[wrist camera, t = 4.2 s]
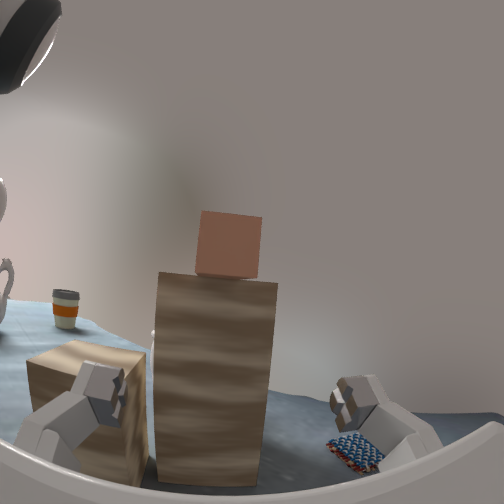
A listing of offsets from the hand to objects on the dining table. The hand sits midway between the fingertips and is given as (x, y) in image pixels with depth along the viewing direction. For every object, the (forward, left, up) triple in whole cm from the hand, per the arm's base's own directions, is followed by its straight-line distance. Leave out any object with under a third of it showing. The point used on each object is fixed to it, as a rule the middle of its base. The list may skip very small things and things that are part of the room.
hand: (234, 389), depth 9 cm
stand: (+23, +13, -22) cm, 34 cm away
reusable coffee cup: (+56, +101, -22) cm, 117 cm away
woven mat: (+32, -10, -22) cm, 40 cm away
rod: (+19, +11, +4) cm, 23 cm away
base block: (+9, +20, -22) cm, 31 cm away
